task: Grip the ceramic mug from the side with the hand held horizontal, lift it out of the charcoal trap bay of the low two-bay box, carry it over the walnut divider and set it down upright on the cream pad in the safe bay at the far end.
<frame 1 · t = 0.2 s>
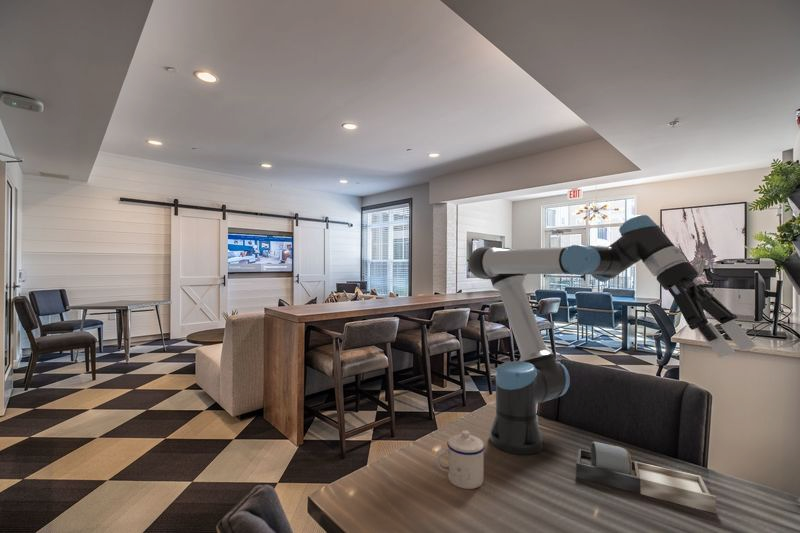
hand: (738, 351, 74), 35 cm above the table, tool tilted 35°, fingers open, 13 cm apart
teacup with lid: (459, 480, 87), on the table
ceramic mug: (607, 473, 90), on the table
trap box: (637, 479, 87), on the table
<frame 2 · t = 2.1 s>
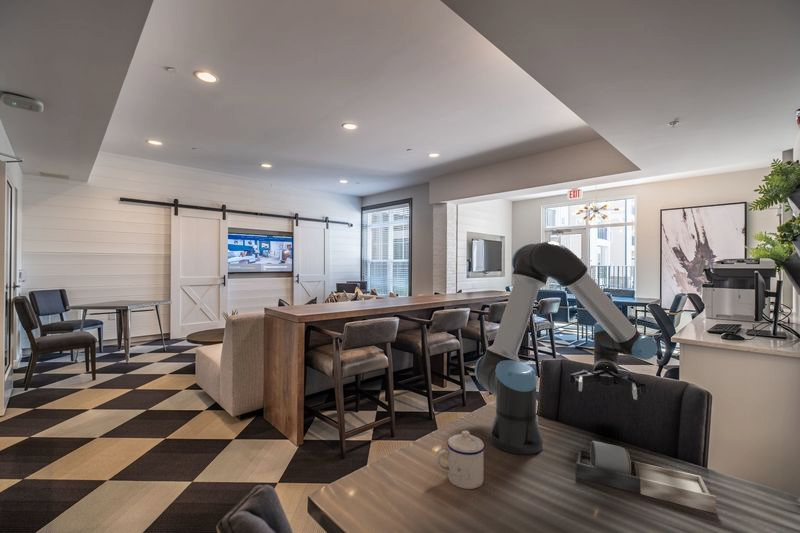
hand: (606, 390, 100), 18 cm above the table, tool horizontal, fingers open, 13 cm apart
nothing on the table moved.
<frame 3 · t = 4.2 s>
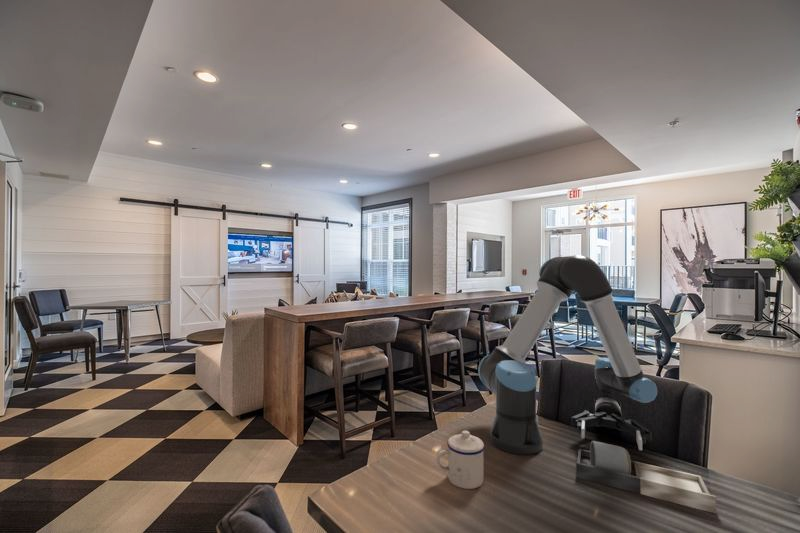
hand: (610, 439, 96), 6 cm above the table, tool horizontal, fingers open, 13 cm apart
nothing on the table moved.
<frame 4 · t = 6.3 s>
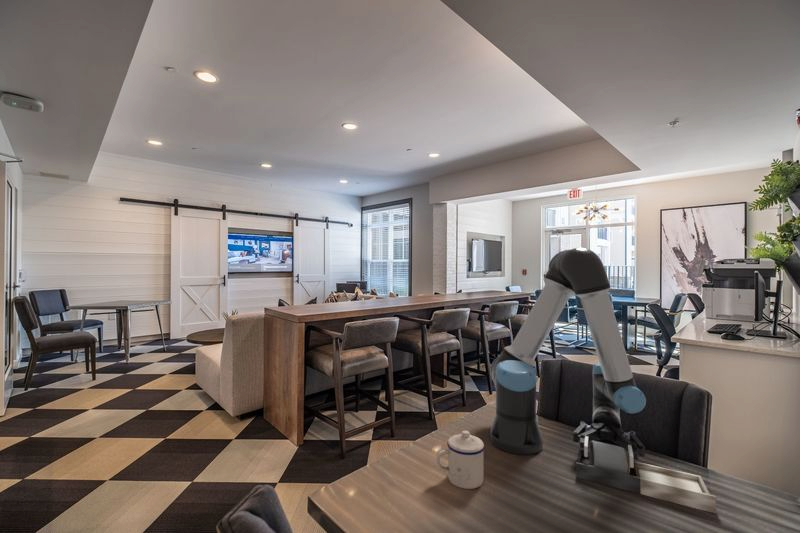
hand: (608, 456, 86), 6 cm above the table, tool horizontal, fingers open, 9 cm apart
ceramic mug: (606, 472, 91), on the table, touching gripper
everything else where it was.
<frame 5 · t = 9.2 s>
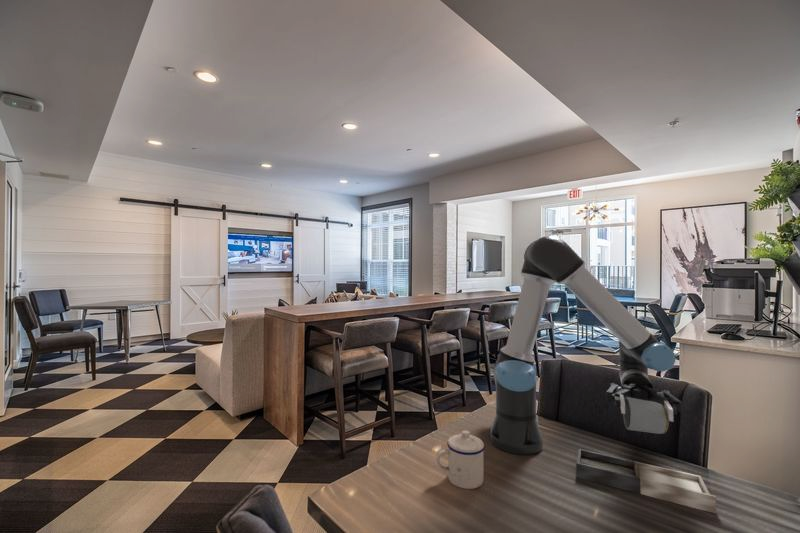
hand: (646, 411, 83), 18 cm above the table, tool horizontal, fingers closed on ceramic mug, 9 cm apart
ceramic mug: (641, 429, 88), point 12 cm above the table, touching gripper
everything else where it was.
when the fingers open (8 cm above the table, at t = 12.0 s): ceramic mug stays where it is, resting on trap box.
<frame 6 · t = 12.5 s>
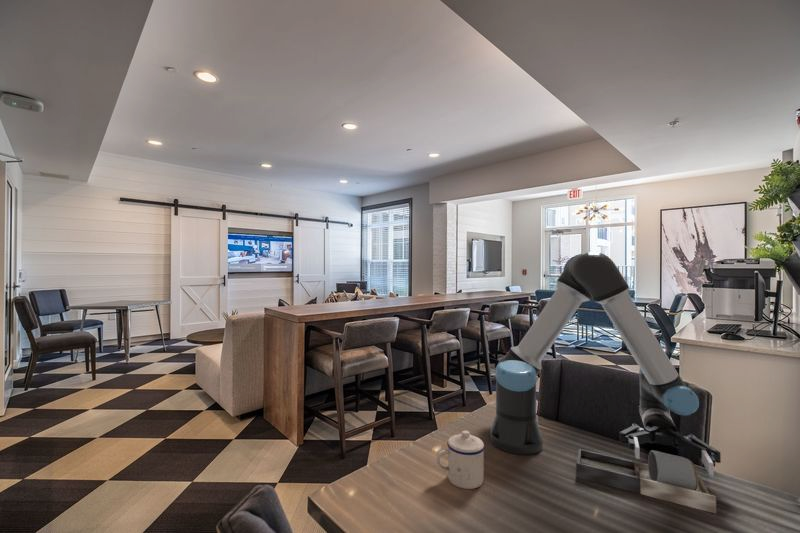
hand: (673, 460, 81), 8 cm above the table, tool horizontal, fingers open, 13 cm apart
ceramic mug: (667, 482, 84), point 1 cm above the table, touching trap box
everything else where it was.
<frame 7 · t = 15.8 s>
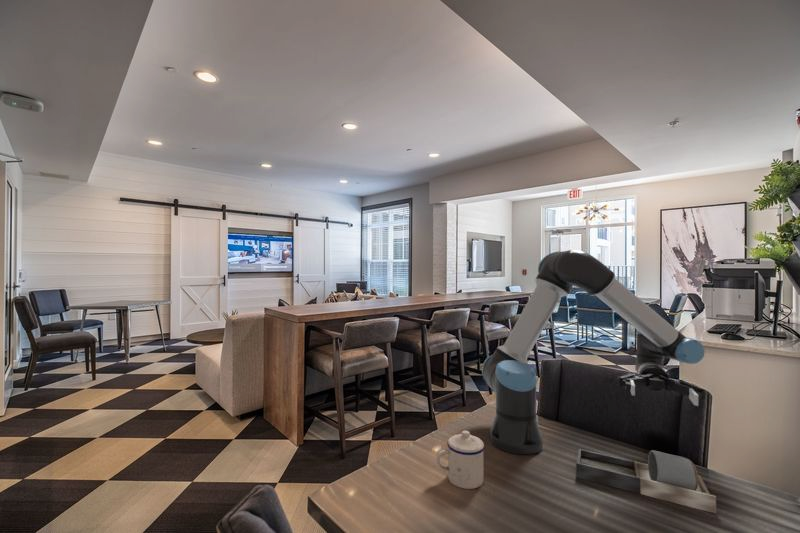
hand: (663, 395, 93), 19 cm above the table, tool horizontal, fingers open, 13 cm apart
nothing on the table moved.
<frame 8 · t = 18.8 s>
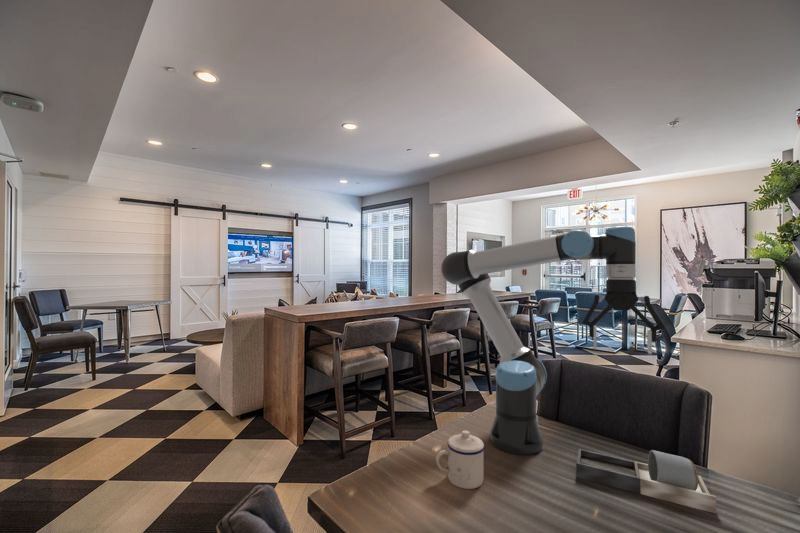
hand: (621, 350, 103), 29 cm above the table, tool pointing down, fingers open, 13 cm apart
nothing on the table moved.
at the end: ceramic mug 0.8 cm from the target spot, point 0.7 cm above the table; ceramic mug tilted 5°; the gripper is holding nothing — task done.
